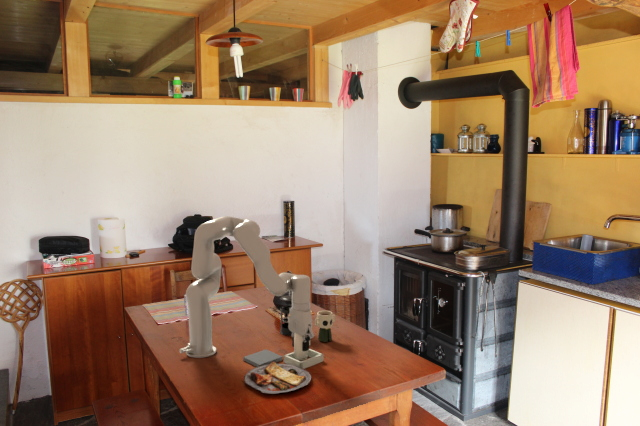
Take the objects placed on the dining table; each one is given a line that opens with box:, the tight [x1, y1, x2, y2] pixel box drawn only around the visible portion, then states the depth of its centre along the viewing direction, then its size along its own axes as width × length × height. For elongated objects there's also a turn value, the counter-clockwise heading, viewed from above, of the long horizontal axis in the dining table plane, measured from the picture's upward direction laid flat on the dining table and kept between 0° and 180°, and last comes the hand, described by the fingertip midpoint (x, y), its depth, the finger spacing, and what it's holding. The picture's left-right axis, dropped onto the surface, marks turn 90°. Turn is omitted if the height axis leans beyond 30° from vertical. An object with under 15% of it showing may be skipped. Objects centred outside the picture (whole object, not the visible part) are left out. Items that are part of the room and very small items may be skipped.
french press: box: [279, 290, 292, 337], centre depth 260 cm, size 12×9×23 cm
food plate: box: [243, 362, 312, 395], centre depth 209 cm, size 25×23×4 cm
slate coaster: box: [242, 349, 284, 367], centre depth 229 cm, size 12×11×2 cm
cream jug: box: [293, 332, 311, 361], centre depth 226 cm, size 8×6×12 cm
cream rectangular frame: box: [283, 348, 324, 370], centre depth 227 cm, size 12×10×3 cm
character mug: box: [314, 310, 336, 343], centre depth 250 cm, size 11×7×13 cm, turn 121°
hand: (300, 347), depth 226 cm, fingers closed on cream jug, 5 cm apart
